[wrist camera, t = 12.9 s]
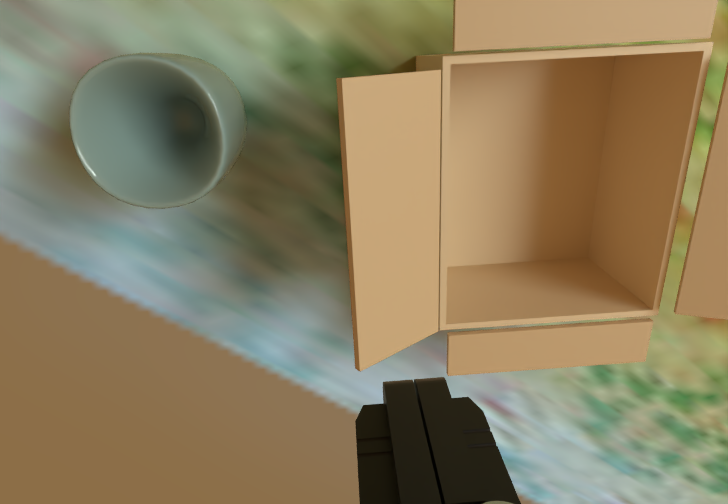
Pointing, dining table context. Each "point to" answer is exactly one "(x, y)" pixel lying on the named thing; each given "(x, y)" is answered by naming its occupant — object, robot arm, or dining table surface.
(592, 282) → the carton
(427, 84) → the flap
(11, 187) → the dining table surface
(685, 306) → the flap
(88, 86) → the cup
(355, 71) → the dining table surface
